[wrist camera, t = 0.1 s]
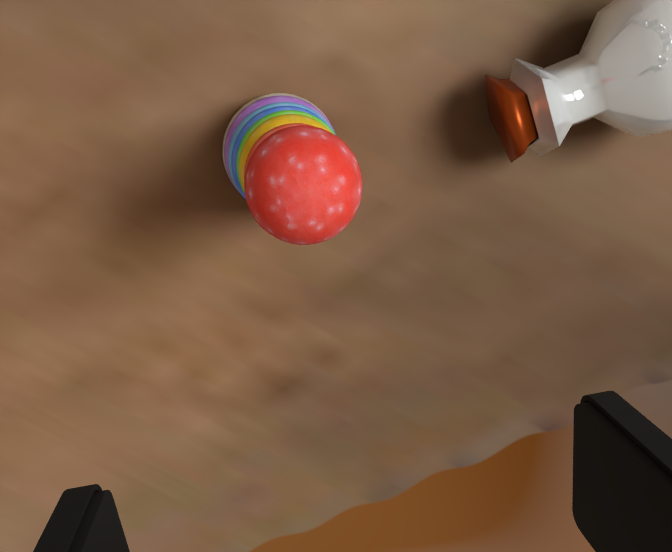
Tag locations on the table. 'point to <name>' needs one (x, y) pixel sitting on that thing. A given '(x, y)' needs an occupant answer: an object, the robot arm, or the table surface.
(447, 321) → the table surface
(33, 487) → the table surface
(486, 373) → the table surface
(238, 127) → the stacking toy
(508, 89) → the potion bottle
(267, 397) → the table surface
